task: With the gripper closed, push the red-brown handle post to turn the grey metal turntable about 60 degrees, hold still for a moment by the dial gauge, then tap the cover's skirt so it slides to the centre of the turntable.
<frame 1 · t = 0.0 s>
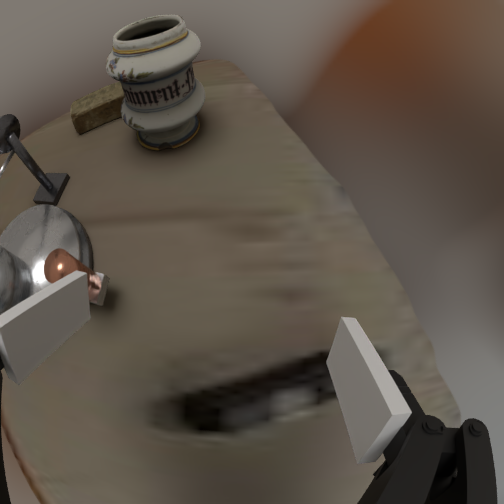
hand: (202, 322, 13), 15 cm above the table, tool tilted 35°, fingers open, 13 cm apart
stone block: (106, 116, 39), on the table
apothecary jar: (168, 129, 37), on the table
dial gauge stand: (52, 190, 32), on the table
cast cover: (8, 290, 23), point 3 cm above the table, touching turntable
turntable: (20, 262, 22), point 6 cm above the table, hinge at 0.0°, touching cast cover
turntable base: (37, 275, 28), on the table
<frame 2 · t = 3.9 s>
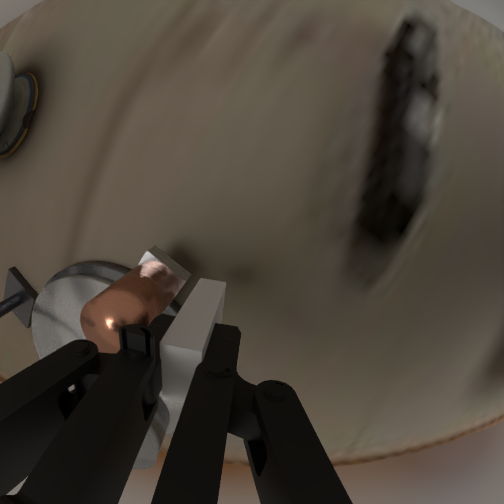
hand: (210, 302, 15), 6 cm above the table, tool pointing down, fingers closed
apothecary jar: (12, 114, 17), on the table
dial gauge stand: (22, 296, 22), on the table
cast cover: (125, 404, 21), point 3 cm above the table, touching turntable
turntable: (92, 380, 16), point 6 cm above the table, hinge at 0.2°, touching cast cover, gripper
turntable base: (115, 354, 23), on the table
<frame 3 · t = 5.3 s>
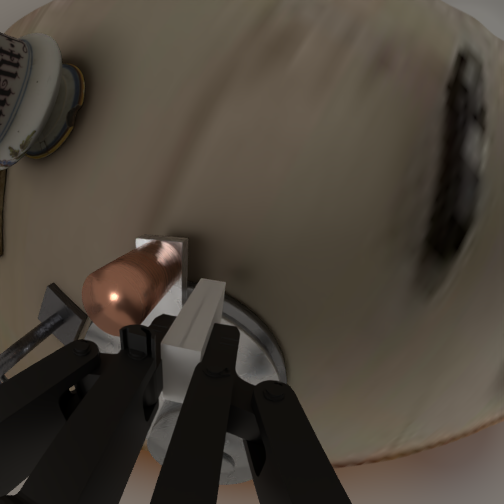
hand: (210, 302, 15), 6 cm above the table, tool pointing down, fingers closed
apothecary jar: (49, 109, 18), on the table
dial gauge stand: (63, 315, 22), on the table
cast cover: (213, 416, 20), point 3 cm above the table, touching turntable
turntable: (160, 401, 16), point 6 cm above the table, hinge at 33.5°, touching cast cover, gripper
turntable base: (181, 374, 23), on the table
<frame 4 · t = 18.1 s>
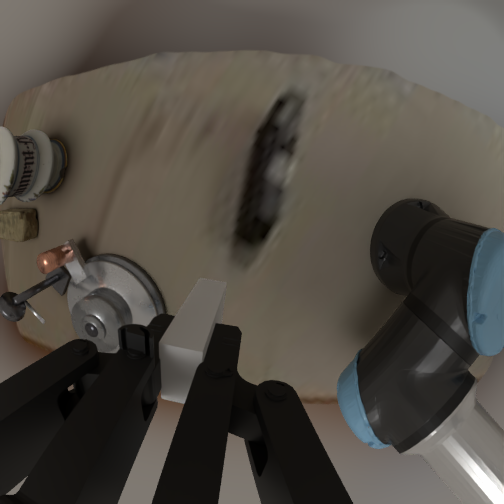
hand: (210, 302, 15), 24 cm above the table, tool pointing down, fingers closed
stone block: (23, 221, 40), on the table
apothecary jar: (50, 165, 37), on the table
dial gauge stand: (59, 276, 42), on the table
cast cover: (108, 312, 39), point 3 cm above the table, touching turntable
turntable: (91, 311, 36), point 6 cm above the table, hinge at 66.2°, touching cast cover
turntable base: (116, 307, 42), on the table
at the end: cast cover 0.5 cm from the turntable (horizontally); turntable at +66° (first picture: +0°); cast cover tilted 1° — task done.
